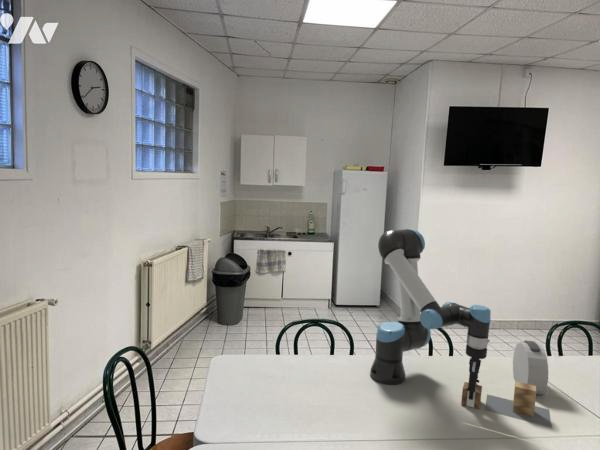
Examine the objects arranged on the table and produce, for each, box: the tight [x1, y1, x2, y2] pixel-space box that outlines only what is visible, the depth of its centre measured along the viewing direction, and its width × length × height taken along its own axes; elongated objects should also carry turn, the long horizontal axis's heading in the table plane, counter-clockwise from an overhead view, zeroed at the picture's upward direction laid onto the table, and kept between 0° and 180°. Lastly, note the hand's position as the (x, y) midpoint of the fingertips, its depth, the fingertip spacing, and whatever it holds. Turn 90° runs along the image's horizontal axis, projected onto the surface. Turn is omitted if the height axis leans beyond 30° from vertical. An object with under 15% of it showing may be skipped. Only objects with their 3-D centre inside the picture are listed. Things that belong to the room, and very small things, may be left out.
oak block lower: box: [512, 398, 536, 417], centre depth 161 cm, size 7×5×5 cm
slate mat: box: [484, 394, 553, 428], centre depth 162 cm, size 22×14×1 cm, turn 63°
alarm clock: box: [512, 340, 549, 396], centre depth 182 cm, size 21×8×20 cm, turn 168°
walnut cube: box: [460, 381, 483, 410], centre depth 166 cm, size 6×6×6 cm
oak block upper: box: [513, 380, 537, 405], centre depth 161 cm, size 7×5×5 cm
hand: (471, 401), depth 166 cm, fingers closed on walnut cube, 6 cm apart
